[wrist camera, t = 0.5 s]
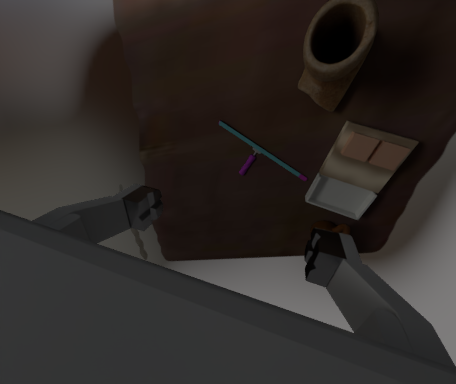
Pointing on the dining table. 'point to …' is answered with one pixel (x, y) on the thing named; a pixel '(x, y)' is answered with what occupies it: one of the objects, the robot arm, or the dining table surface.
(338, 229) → the mug
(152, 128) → the dining table surface
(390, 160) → the tile
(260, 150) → the squeegee
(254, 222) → the dining table surface
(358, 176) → the board
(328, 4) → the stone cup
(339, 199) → the tray
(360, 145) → the tile
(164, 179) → the dining table surface
